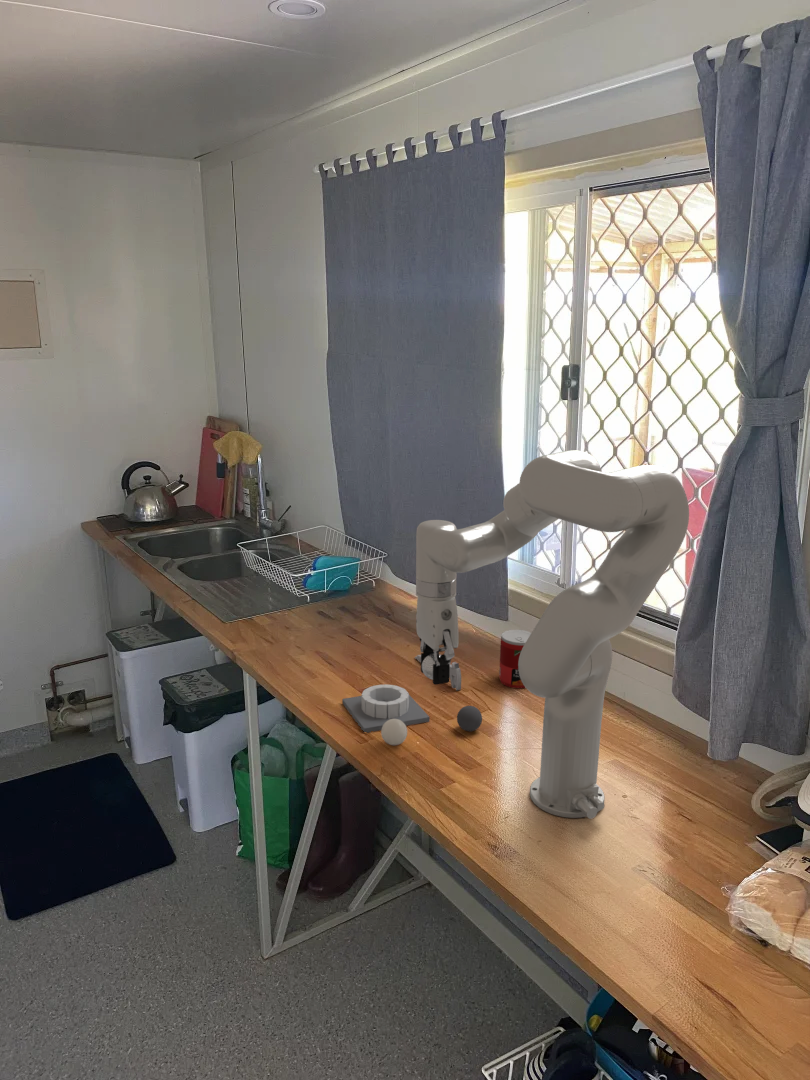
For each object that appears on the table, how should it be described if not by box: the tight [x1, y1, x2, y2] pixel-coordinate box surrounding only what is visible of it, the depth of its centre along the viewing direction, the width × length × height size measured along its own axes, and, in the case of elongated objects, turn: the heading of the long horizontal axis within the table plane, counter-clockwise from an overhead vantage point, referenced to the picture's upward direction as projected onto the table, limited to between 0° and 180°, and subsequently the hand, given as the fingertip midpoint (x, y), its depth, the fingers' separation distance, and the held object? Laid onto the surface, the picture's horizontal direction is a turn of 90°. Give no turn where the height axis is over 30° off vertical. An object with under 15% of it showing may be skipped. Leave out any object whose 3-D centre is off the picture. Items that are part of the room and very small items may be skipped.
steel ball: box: [422, 653, 442, 681], centre depth 163 cm, size 5×5×5 cm
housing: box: [341, 684, 430, 733], centre depth 176 cm, size 14×14×4 cm
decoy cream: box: [380, 719, 408, 746], centre depth 163 cm, size 5×5×5 cm
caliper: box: [414, 654, 462, 691], centre depth 195 cm, size 20×1×6 cm, turn 27°
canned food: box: [498, 629, 532, 689], centre depth 191 cm, size 8×8×11 cm
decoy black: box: [456, 705, 483, 732], centre depth 169 cm, size 5×5×5 cm
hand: (434, 676), depth 163 cm, fingers closed on steel ball, 5 cm apart
